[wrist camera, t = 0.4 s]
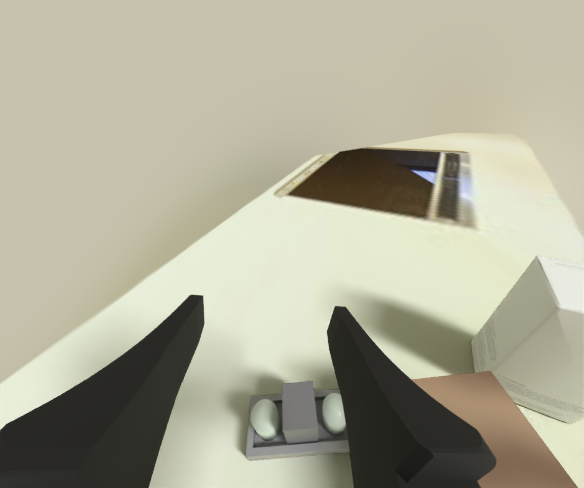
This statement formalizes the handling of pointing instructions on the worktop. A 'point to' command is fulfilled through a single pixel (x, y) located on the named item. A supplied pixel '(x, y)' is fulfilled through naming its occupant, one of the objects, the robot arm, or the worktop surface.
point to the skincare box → (539, 340)
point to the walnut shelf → (499, 431)
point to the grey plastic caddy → (296, 423)
